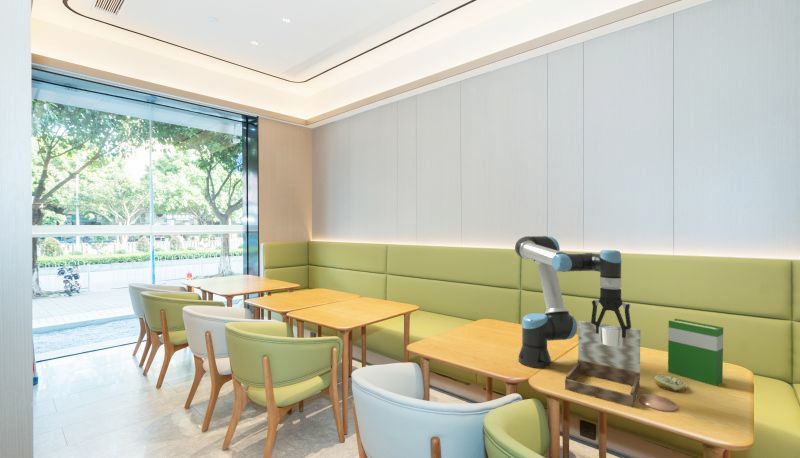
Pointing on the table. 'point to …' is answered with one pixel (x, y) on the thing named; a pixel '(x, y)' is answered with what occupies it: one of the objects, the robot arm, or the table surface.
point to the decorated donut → (670, 383)
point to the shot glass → (610, 335)
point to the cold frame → (606, 364)
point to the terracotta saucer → (657, 402)
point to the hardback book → (696, 351)
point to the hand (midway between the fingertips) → (610, 343)
